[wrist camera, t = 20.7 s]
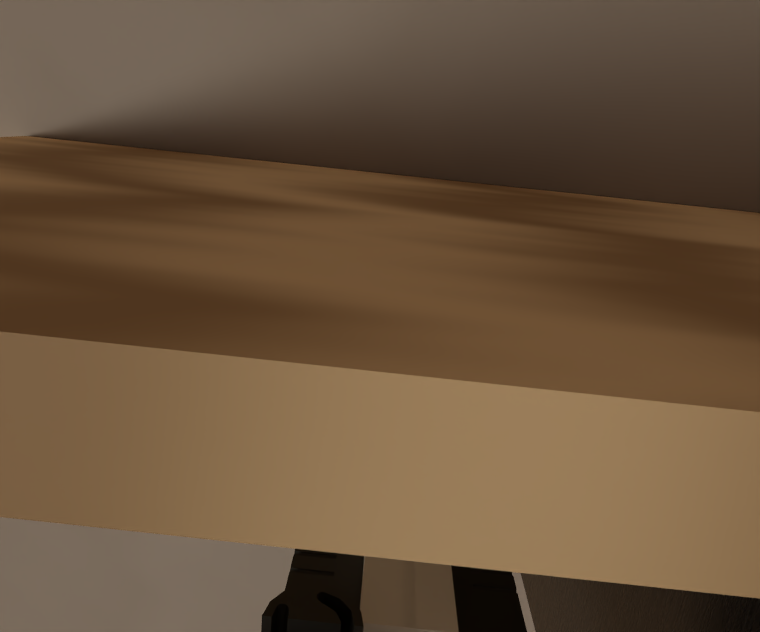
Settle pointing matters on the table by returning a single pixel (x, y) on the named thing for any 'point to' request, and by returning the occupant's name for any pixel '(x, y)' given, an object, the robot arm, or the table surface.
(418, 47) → the table surface
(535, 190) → the shelf
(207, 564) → the table surface
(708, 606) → the bookend
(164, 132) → the table surface
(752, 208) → the table surface
